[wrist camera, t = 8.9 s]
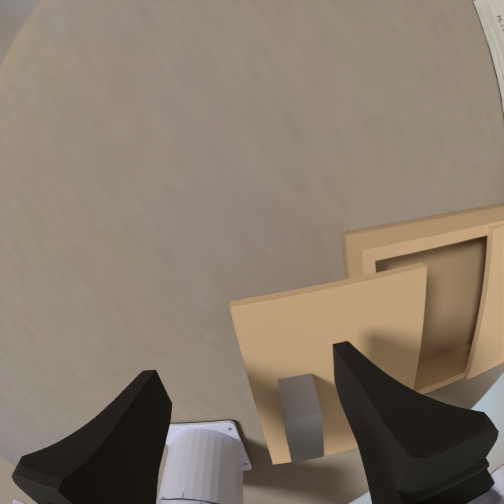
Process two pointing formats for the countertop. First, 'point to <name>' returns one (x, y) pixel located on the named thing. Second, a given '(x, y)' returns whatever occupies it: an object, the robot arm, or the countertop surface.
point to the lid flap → (325, 353)
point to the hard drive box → (494, 34)
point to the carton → (445, 286)
